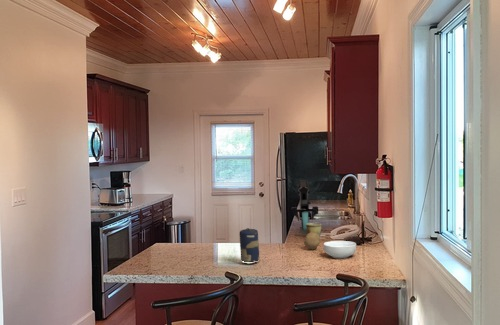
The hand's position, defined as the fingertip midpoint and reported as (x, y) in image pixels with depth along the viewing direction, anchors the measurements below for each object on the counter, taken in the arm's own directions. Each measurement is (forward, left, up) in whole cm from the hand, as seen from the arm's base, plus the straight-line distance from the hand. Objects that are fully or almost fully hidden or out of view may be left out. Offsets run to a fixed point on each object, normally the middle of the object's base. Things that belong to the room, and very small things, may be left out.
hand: (305, 220), depth 298 cm
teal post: (+3, +1, -8) cm, 9 cm away
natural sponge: (+48, +24, -9) cm, 55 cm away
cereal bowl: (+60, +44, -10) cm, 75 cm away
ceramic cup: (+17, +13, -9) cm, 23 cm away
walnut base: (+3, +1, -9) cm, 10 cm away
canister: (+86, +5, -9) cm, 87 cm away
